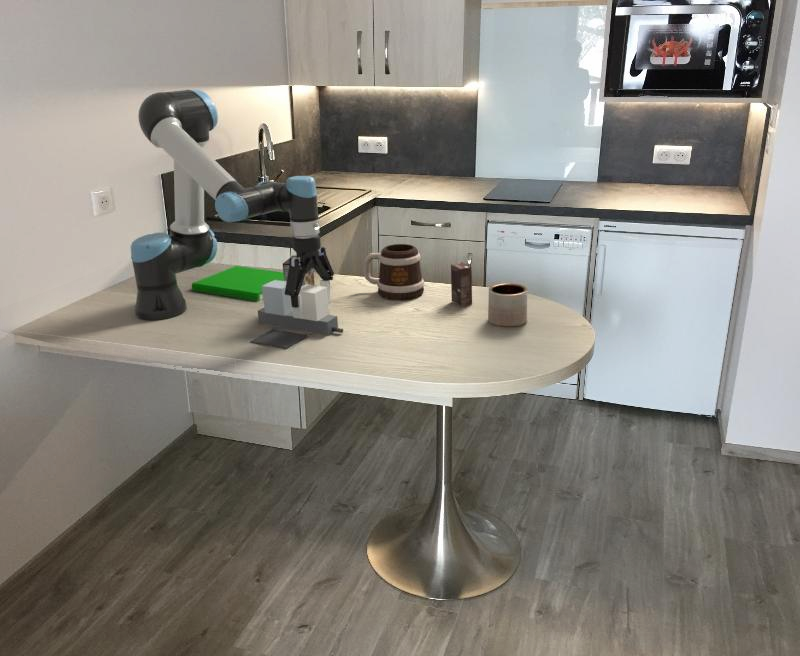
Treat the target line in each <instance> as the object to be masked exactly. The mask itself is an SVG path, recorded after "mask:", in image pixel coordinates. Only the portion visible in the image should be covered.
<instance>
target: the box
mask: <svg viewBox="0 0 800 656" xmlns="http://www.w3.org/2000/svg"><path fill="white" fill-rule="evenodd" d="M472 270H473V269H472V266H471V265H469V264H467V263H465V262H463V261H462V262H455V263H451V264H450V279H451V280H450V287H451V289H450V291H451V302H453V303H455V304H456V305H458V306H459V308H460V307H466V306H471V305H473V279H472V278H473V276H472V275H473V274H472V272H473V271H472Z"/></svg>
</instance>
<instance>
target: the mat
mask: <svg viewBox="0 0 800 656" xmlns="http://www.w3.org/2000/svg"><path fill="white" fill-rule="evenodd" d="M307 337H309V334H305V333H300V332H294V331H289V330H284V329H282V330H281V329H278V328H277V329H276V328H272V329H269V330H268V331H266V332H264V333H263V334H261V335H259V336H257V337H255V338H253V339H251V340H250V342H249V343H252V344H257V345H262V346H266V347H267V346H268V347H273V348H279V349H283V350H287V349H289V348H291V347H292V346H294V345H296V344H298V343H299V342H300V341H302V340H304V339H306V338H307Z"/></svg>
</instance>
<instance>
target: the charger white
mask: <svg viewBox="0 0 800 656" xmlns="http://www.w3.org/2000/svg"><path fill="white" fill-rule="evenodd" d="M295 291H296V290H295ZM299 295H301V300H302V310H303V318H302V319H307V320H313V321H318V320H320V319H322V318H323V317H325V316H327V315H330V309H329V306H330V305H329V303H328V292H327V287H323V286H320V285H316V284H315V285H308V284H306V285H304V286H302V287H301V289H300V292H299Z"/></svg>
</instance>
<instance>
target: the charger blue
mask: <svg viewBox="0 0 800 656" xmlns="http://www.w3.org/2000/svg"><path fill="white" fill-rule="evenodd" d="M285 288H286V281H279V280H274V281H271V282H269V283H267V284H265V285H263V286H262V292H263V299H262V300H263V308H264V310H265V313H270V314H276V315H282V316H285V315H287V314H289V313H291V312H293V308H292V305H291V296H289V295H285ZM289 291H290V290H289Z"/></svg>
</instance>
